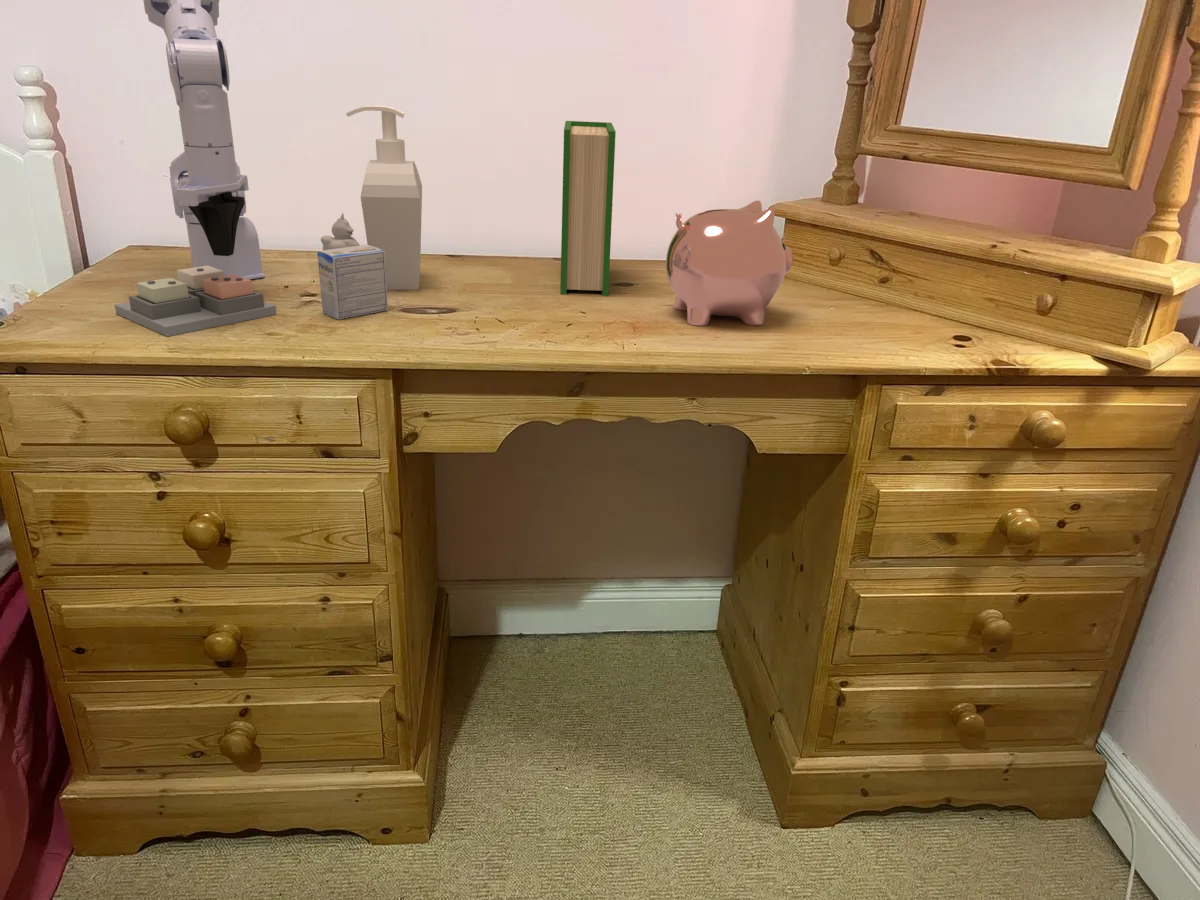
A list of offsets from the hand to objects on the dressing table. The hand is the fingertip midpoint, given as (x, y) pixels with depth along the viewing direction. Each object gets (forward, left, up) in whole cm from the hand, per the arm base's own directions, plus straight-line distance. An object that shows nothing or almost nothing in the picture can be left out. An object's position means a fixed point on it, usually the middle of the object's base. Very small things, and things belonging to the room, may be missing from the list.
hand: (223, 254), depth 115 cm
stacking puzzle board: (+3, -4, -8) cm, 9 cm away
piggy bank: (-51, +45, -8) cm, 69 cm away
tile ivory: (0, -7, -5) cm, 9 cm away
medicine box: (-13, +9, -8) cm, 18 cm away
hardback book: (-51, +18, -8) cm, 55 cm away
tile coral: (0, 0, -5) cm, 5 cm away
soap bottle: (-27, -1, -8) cm, 28 cm away
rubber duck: (-31, -20, -8) cm, 38 cm away
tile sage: (+7, -4, -5) cm, 9 cm away
